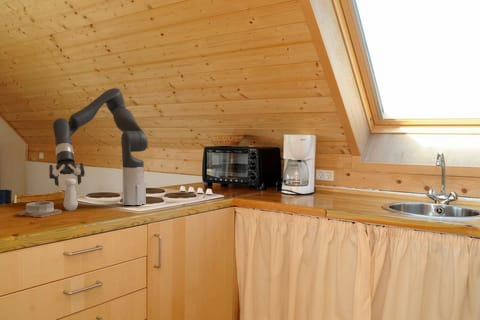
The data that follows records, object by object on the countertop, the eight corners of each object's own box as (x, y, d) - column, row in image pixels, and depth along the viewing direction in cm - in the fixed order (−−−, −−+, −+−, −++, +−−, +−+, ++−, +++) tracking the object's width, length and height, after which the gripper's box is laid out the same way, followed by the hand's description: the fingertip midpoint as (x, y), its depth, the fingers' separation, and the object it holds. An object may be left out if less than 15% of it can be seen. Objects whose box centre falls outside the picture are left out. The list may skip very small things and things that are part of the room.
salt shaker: (60, 210, 167) (59, 179, 167) (70, 207, 173) (70, 177, 172) (71, 211, 165) (70, 180, 164) (81, 208, 171) (80, 178, 170)
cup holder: (61, 212, 162) (61, 202, 162) (40, 217, 153) (40, 206, 152) (39, 210, 166) (39, 200, 166) (18, 214, 157) (17, 204, 157)
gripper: (81, 159, 188) (85, 187, 179) (47, 161, 182) (50, 190, 173) (82, 149, 183) (86, 177, 174) (47, 150, 176) (50, 180, 168)
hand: (68, 184), depth 173 cm, fingers open, 8 cm apart
